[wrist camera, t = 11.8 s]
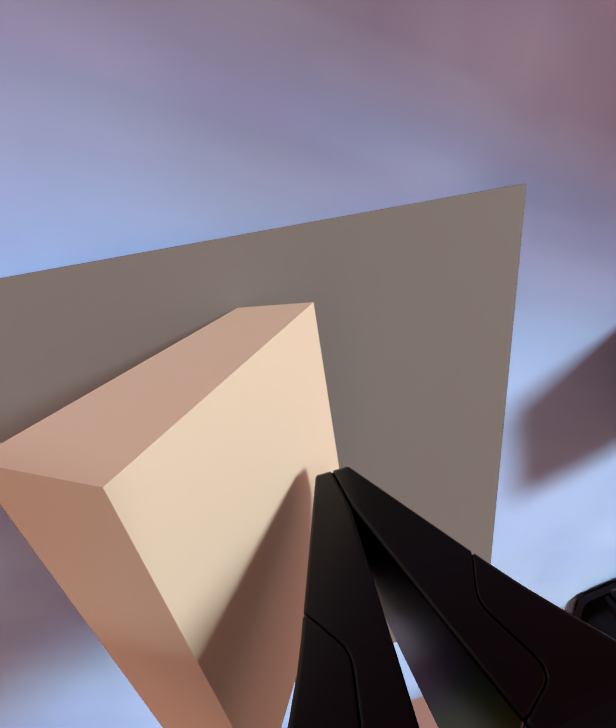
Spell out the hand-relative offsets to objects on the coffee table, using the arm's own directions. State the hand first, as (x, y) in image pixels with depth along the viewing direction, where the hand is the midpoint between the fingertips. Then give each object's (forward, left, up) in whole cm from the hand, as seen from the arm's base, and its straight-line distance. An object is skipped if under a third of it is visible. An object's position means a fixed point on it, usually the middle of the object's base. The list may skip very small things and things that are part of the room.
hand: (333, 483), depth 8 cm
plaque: (0, 0, -4) cm, 4 cm away
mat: (-6, 0, -5) cm, 7 cm away
